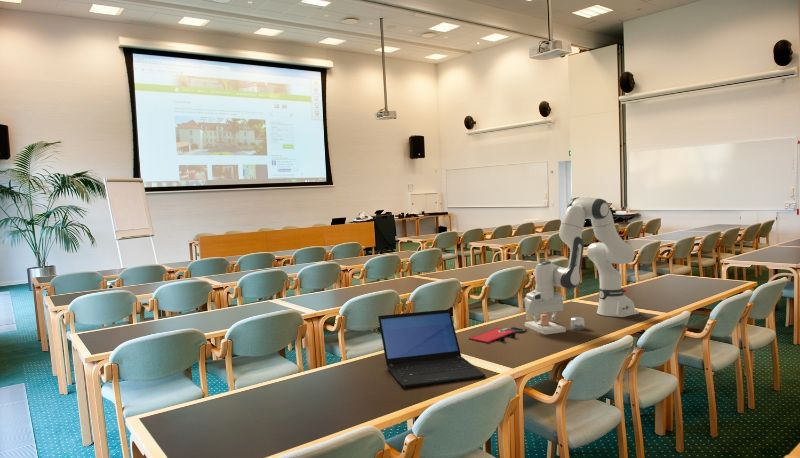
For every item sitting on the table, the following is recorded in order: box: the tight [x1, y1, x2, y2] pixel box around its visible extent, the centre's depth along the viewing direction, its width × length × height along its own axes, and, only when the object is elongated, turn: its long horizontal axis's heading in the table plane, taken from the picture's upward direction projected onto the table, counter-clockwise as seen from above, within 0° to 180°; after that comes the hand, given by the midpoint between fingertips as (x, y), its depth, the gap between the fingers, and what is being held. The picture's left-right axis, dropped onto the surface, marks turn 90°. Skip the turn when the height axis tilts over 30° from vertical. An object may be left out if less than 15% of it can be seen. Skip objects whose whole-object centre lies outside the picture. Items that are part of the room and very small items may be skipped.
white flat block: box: [524, 320, 567, 336], centre depth 274 cm, size 12×18×2 cm, turn 18°
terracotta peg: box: [541, 313, 550, 327], centre depth 274 cm, size 4×4×7 cm
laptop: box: [377, 309, 486, 389], centre depth 221 cm, size 33×38×19 cm
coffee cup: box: [524, 296, 543, 322], centre depth 292 cm, size 9×9×12 cm
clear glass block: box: [570, 316, 585, 331], centre depth 273 cm, size 6×6×5 cm
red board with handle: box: [468, 326, 528, 345], centre depth 265 cm, size 30×3×15 cm
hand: (544, 321), depth 274 cm, fingers open, 8 cm apart
